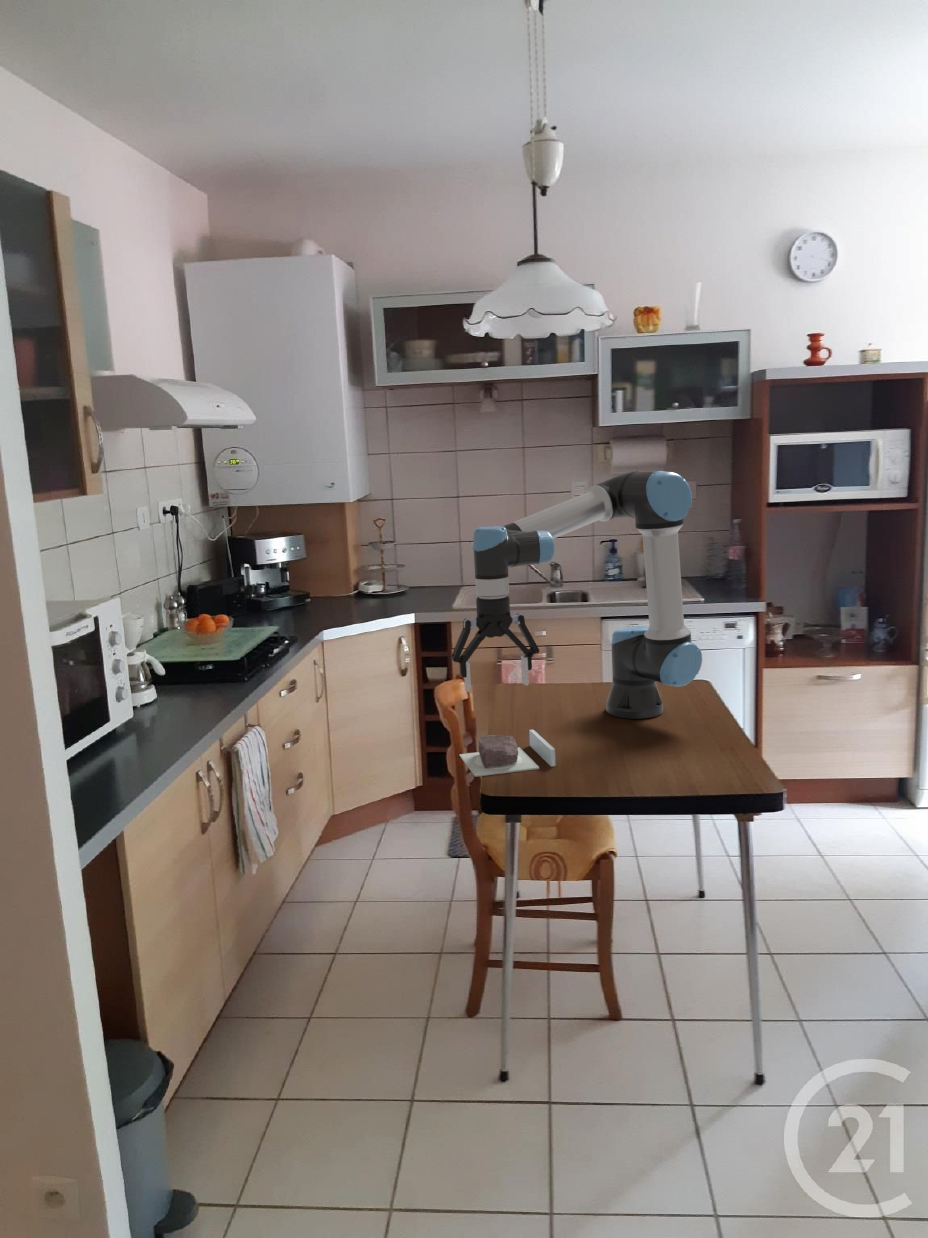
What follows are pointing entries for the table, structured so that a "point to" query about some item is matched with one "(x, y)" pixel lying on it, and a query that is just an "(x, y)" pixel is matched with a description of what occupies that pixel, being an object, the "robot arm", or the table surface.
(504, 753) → the stone
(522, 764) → the rest mat
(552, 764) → the acrylic wall
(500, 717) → the table surface
